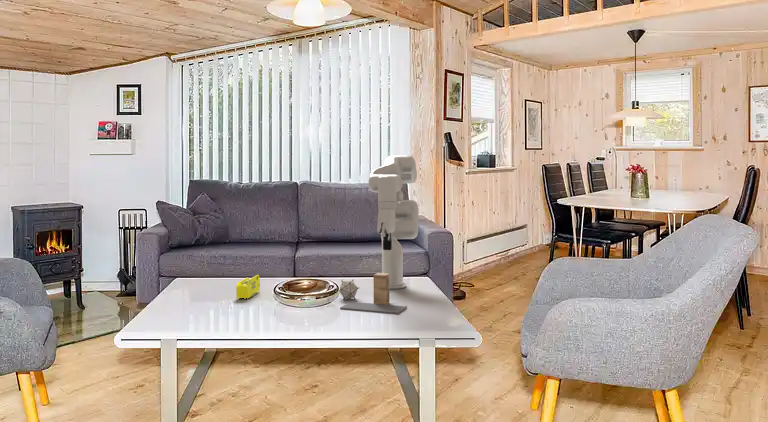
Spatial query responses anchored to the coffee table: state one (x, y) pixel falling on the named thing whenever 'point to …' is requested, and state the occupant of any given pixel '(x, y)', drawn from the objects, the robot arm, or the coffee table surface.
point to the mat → (374, 307)
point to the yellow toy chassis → (248, 287)
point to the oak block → (381, 288)
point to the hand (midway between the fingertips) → (387, 249)
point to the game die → (348, 289)
